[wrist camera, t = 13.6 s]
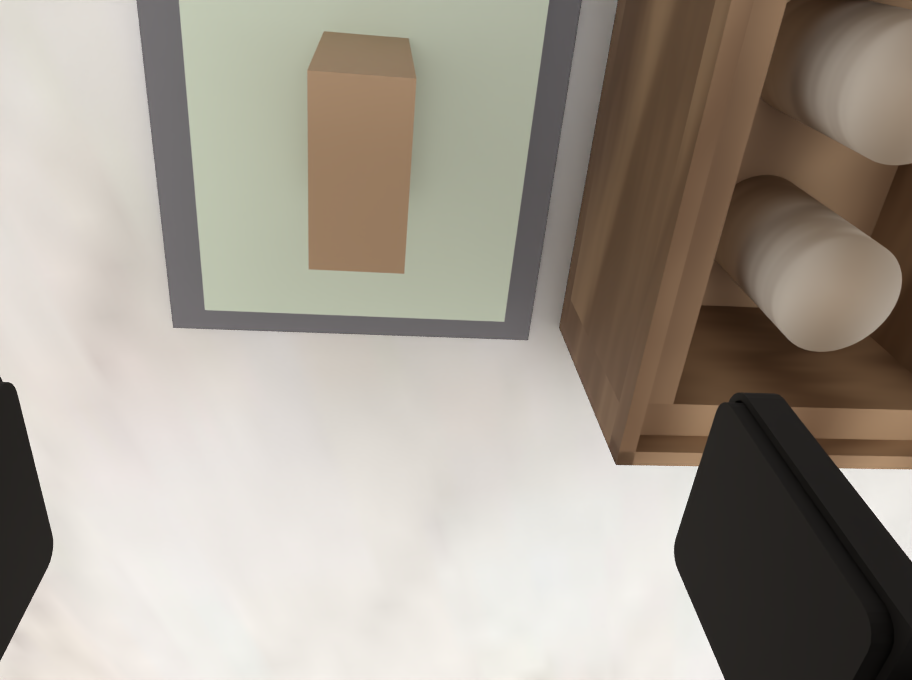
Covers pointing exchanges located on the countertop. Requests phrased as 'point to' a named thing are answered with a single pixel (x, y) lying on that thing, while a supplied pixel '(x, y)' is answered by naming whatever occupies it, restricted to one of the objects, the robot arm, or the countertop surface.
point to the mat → (189, 312)
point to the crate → (749, 226)
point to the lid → (360, 152)
